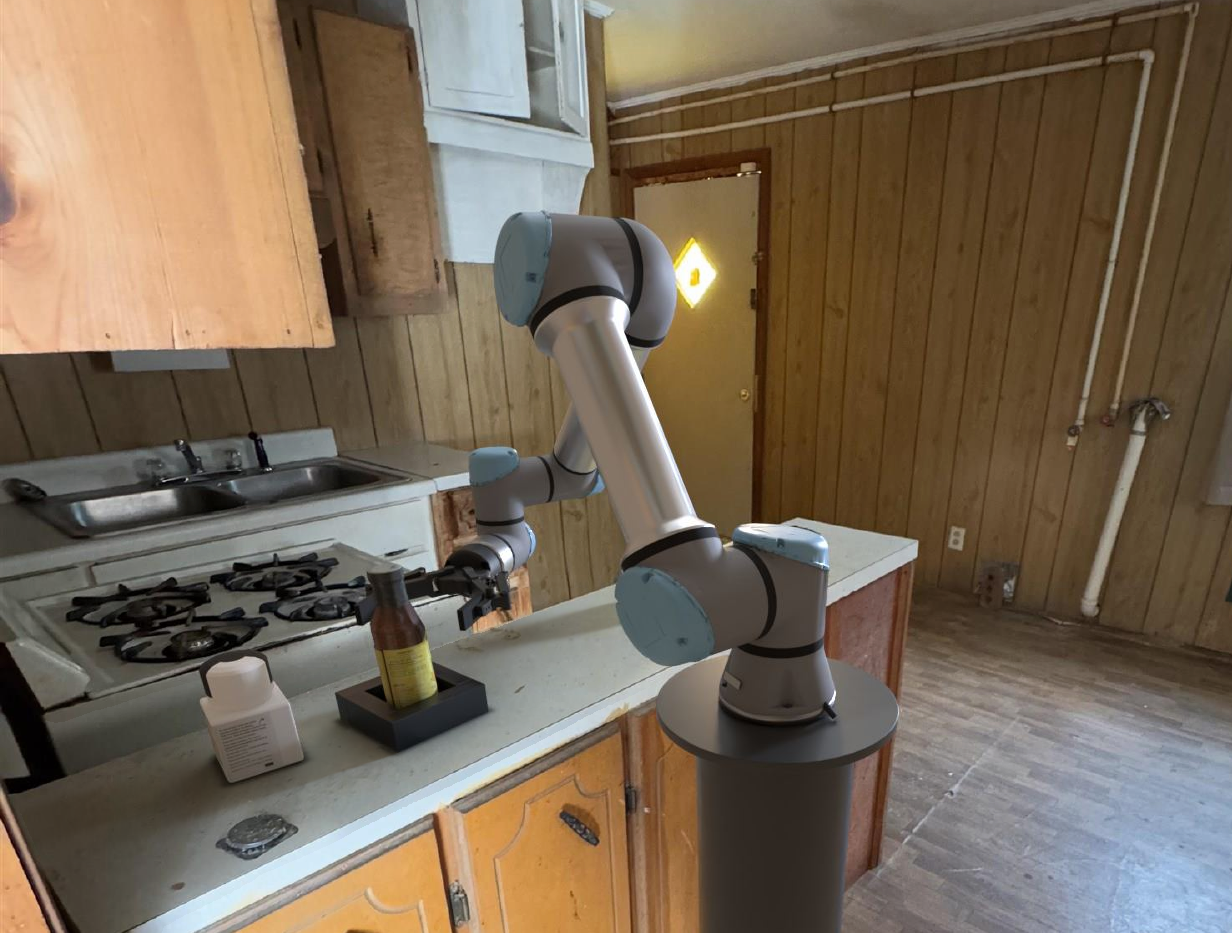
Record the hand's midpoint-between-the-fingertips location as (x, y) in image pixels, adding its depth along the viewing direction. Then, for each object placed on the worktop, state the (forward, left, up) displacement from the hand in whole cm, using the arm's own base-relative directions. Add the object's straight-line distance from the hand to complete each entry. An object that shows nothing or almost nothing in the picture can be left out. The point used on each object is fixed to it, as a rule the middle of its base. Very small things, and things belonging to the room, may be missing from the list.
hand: (409, 618), depth 97 cm
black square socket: (-1, +2, -13) cm, 13 cm away
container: (+4, +19, -13) cm, 23 cm away
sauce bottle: (-1, +2, -13) cm, 13 cm away
